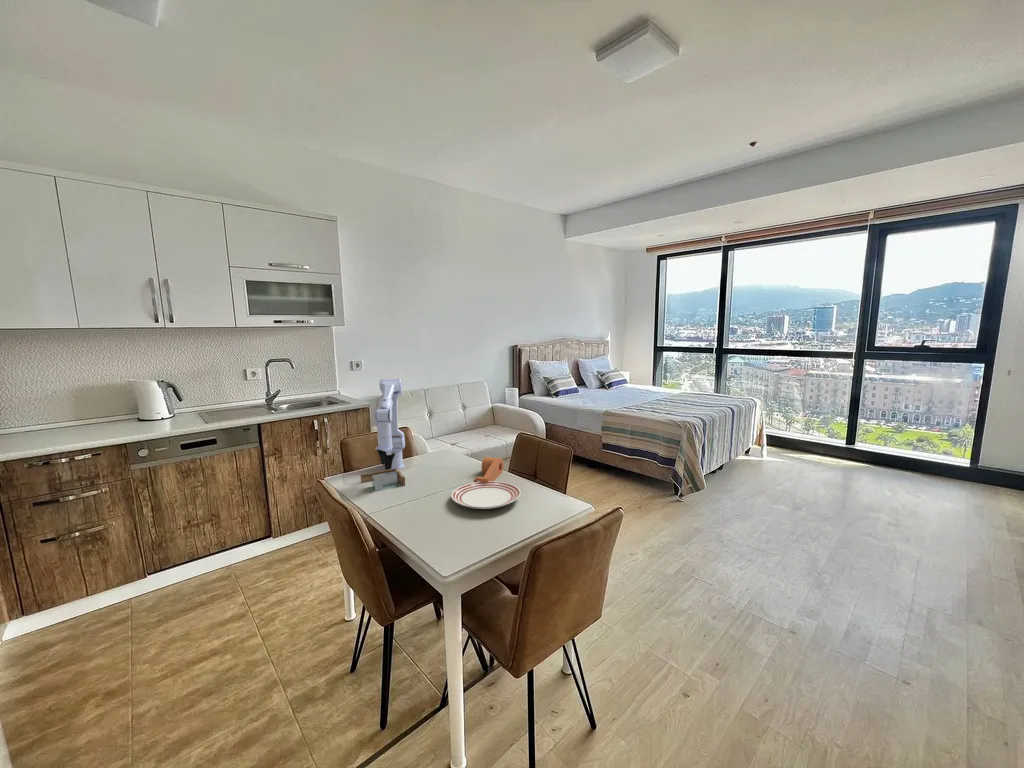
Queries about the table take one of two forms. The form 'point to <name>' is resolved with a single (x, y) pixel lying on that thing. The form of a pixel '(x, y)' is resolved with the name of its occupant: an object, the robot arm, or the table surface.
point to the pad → (383, 488)
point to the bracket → (384, 480)
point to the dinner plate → (486, 494)
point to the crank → (490, 469)
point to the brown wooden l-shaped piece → (368, 476)
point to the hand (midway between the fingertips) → (386, 466)
